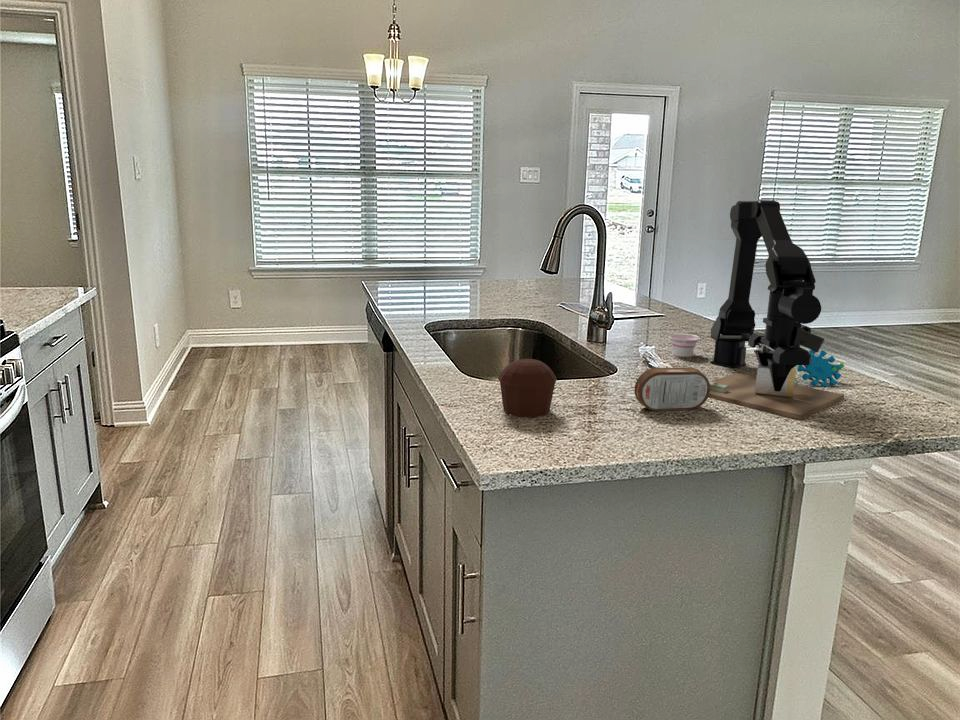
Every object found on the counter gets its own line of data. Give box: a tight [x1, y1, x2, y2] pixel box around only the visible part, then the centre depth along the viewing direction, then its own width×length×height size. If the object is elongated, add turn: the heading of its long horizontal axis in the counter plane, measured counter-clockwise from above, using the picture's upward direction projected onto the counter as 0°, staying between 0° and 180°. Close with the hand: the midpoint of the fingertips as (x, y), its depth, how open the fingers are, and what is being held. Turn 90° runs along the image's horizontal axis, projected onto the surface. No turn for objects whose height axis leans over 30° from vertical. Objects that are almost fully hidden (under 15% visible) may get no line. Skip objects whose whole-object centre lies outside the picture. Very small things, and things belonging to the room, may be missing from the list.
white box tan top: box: [755, 363, 797, 397], centre depth 146 cm, size 7×3×6 cm, turn 67°
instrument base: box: [708, 372, 845, 421], centre depth 149 cm, size 24×22×3 cm
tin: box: [633, 367, 710, 412], centre depth 138 cm, size 15×3×8 cm, turn 99°
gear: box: [796, 349, 845, 388], centre depth 160 cm, size 11×6×10 cm
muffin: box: [497, 358, 558, 419], centre depth 135 cm, size 12×11×10 cm
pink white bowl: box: [668, 333, 701, 358], centre depth 181 cm, size 12×12×6 cm
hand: (773, 388), depth 147 cm, fingers closed on white box tan top, 4 cm apart
